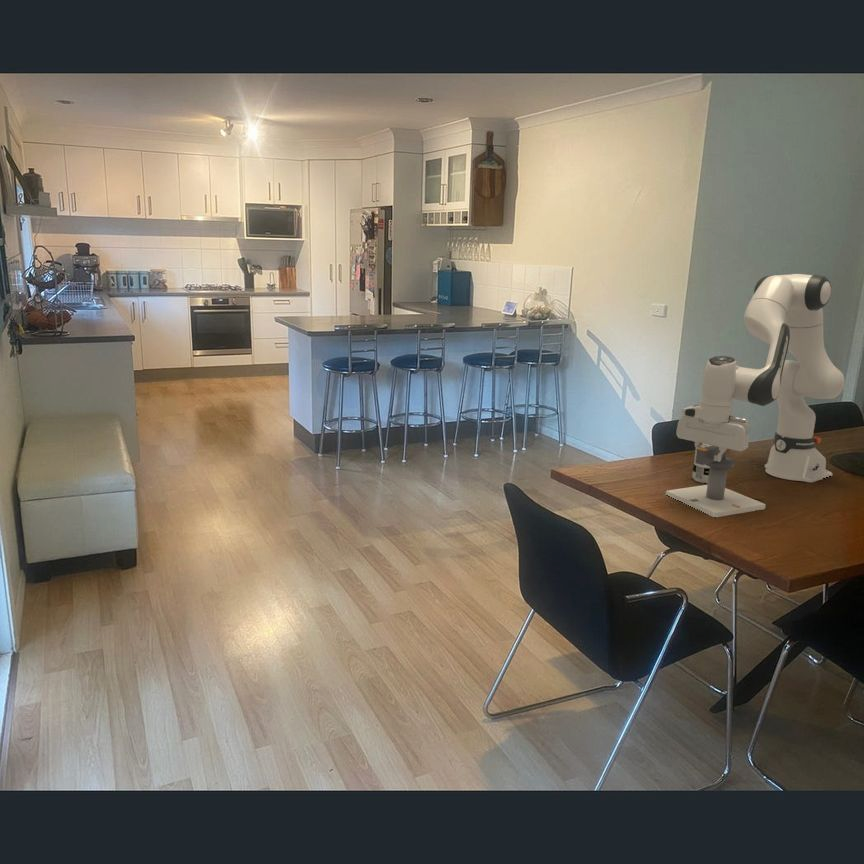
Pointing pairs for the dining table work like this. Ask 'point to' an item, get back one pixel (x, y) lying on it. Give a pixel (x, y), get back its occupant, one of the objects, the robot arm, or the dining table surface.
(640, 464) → the dining table surface
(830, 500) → the dining table surface
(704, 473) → the supplement can
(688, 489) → the base
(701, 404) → the robot arm
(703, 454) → the twist knob
